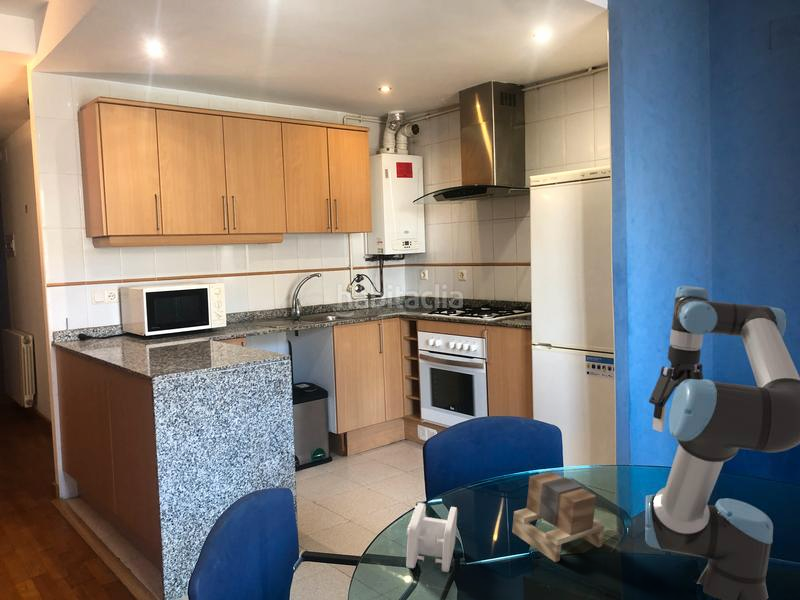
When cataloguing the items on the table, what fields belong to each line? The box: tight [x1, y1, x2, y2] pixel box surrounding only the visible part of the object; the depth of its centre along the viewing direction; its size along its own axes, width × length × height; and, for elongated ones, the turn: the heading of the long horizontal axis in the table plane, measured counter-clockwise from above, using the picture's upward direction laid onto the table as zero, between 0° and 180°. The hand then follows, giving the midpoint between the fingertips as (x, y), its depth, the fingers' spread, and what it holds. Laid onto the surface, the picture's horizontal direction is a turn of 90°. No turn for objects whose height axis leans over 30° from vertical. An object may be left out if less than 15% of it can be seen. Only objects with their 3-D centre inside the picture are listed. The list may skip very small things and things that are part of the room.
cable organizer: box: [405, 502, 458, 573], centre depth 157 cm, size 15×11×12 cm
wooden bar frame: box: [511, 507, 605, 563], centre depth 171 cm, size 16×17×6 cm
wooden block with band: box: [526, 471, 597, 536], centre depth 169 cm, size 16×8×9 cm, turn 32°
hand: (674, 426), depth 167 cm, fingers open, 13 cm apart
